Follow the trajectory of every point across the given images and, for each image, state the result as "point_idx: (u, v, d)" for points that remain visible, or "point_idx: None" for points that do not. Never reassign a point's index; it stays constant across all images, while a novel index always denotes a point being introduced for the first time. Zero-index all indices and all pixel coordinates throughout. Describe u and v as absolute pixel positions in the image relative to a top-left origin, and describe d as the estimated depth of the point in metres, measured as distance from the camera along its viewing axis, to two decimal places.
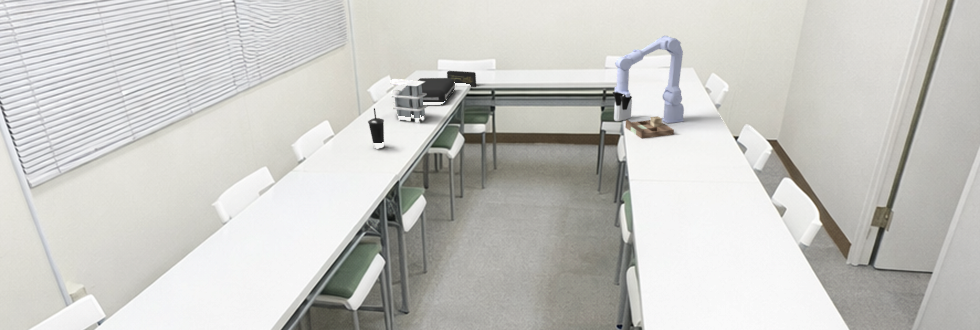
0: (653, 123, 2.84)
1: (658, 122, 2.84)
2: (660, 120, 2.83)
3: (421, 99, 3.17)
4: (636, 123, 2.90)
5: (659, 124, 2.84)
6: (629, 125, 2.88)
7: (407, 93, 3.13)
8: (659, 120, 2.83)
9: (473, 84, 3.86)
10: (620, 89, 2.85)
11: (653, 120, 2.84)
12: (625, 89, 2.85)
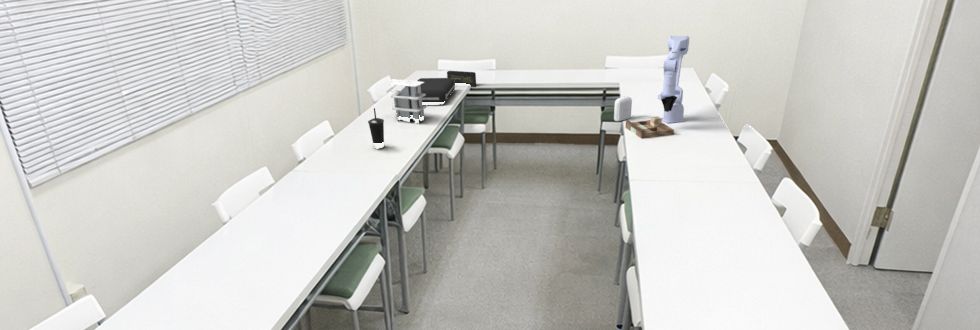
0: (653, 123, 2.84)
1: (658, 122, 2.84)
2: (660, 120, 2.83)
3: (420, 100, 3.16)
4: (636, 123, 2.90)
5: (659, 124, 2.84)
6: (629, 125, 2.88)
7: (406, 93, 3.12)
8: (659, 120, 2.83)
9: (473, 84, 3.86)
10: (663, 91, 2.81)
11: (653, 120, 2.84)
12: (666, 92, 2.79)
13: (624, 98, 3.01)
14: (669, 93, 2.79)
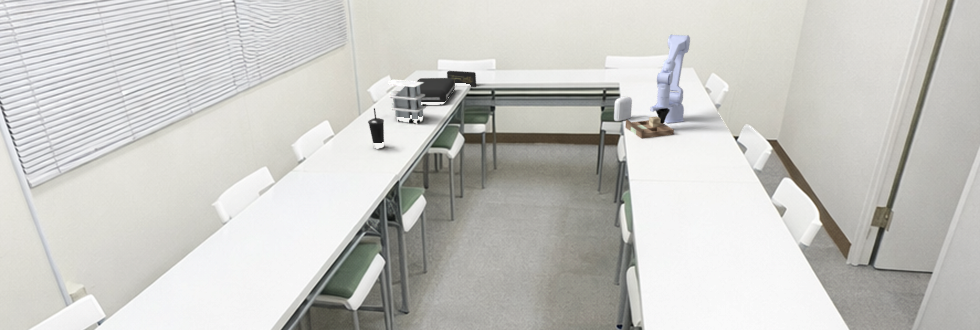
0: (652, 123, 2.84)
1: (657, 122, 2.84)
2: (659, 120, 2.83)
3: (419, 100, 3.15)
4: (636, 123, 2.90)
5: (658, 124, 2.84)
6: (629, 125, 2.88)
7: (405, 94, 3.11)
8: (658, 120, 2.83)
9: (473, 84, 3.86)
10: (657, 103, 2.83)
11: (652, 120, 2.84)
12: (659, 104, 2.81)
13: (624, 98, 3.01)
14: (662, 105, 2.80)
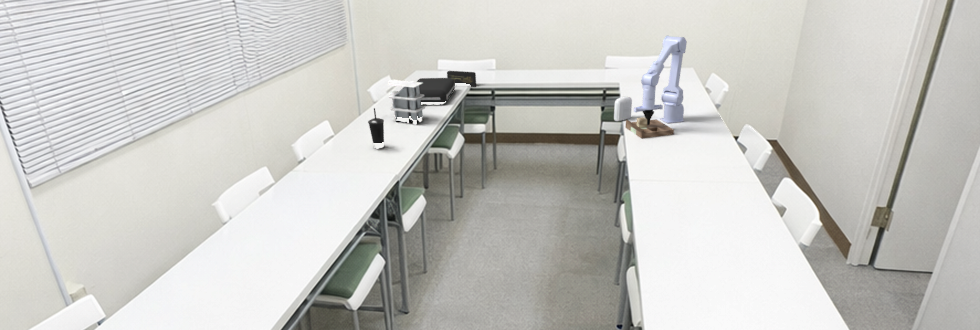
0: (638, 124, 2.84)
1: (643, 123, 2.83)
2: (645, 121, 2.83)
3: (419, 100, 3.14)
4: (636, 123, 2.90)
5: (644, 125, 2.83)
6: (629, 125, 2.88)
7: (404, 94, 3.11)
8: (644, 121, 2.83)
9: (473, 84, 3.86)
10: None
11: (638, 121, 2.83)
12: (643, 105, 2.80)
13: (624, 98, 3.01)
14: (646, 107, 2.79)
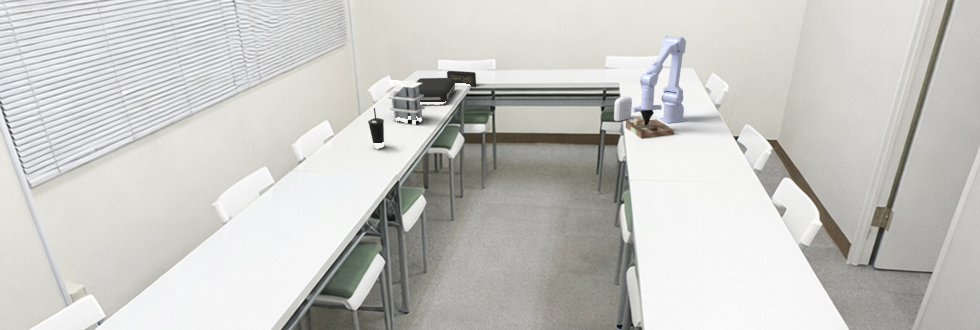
0: (635, 124, 2.84)
1: (640, 124, 2.83)
2: (643, 122, 2.82)
3: (418, 101, 3.14)
4: None
5: (642, 126, 2.83)
6: (629, 125, 2.88)
7: (404, 94, 3.10)
8: (641, 122, 2.82)
9: (473, 84, 3.86)
10: None
11: (635, 121, 2.83)
12: (642, 105, 2.80)
13: (624, 98, 3.01)
14: (645, 107, 2.79)
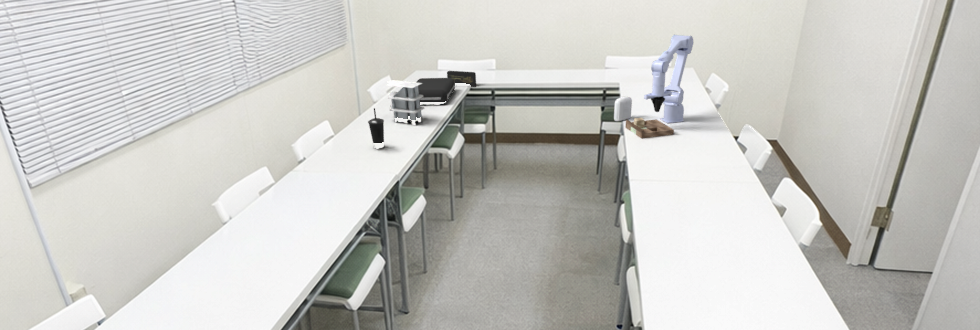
0: (635, 124, 2.84)
1: (640, 123, 2.83)
2: (643, 122, 2.82)
3: (418, 101, 3.13)
4: None
5: (642, 126, 2.83)
6: (629, 125, 2.88)
7: (403, 95, 3.10)
8: (641, 122, 2.82)
9: (473, 84, 3.86)
10: (652, 91, 2.82)
11: (635, 121, 2.83)
12: (653, 92, 2.80)
13: (624, 98, 3.01)
14: (656, 94, 2.79)
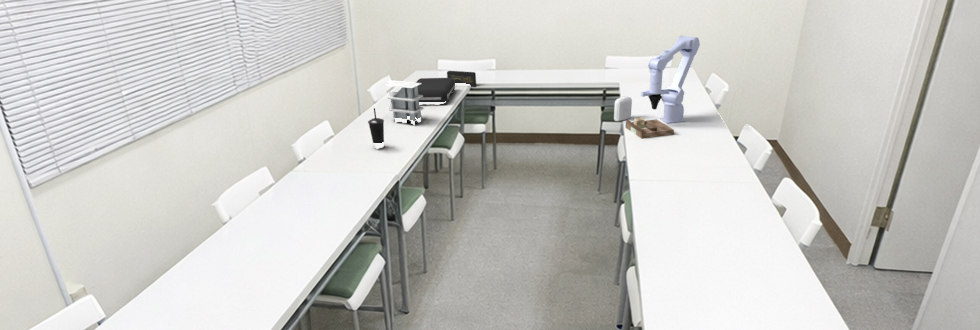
0: (635, 124, 2.84)
1: (640, 123, 2.83)
2: (643, 122, 2.82)
3: (417, 101, 3.13)
4: None
5: (642, 126, 2.83)
6: (629, 125, 2.88)
7: (403, 95, 3.10)
8: (641, 122, 2.82)
9: (473, 84, 3.86)
10: None
11: (635, 121, 2.83)
12: (650, 90, 2.84)
13: (624, 98, 3.01)
14: (653, 91, 2.83)
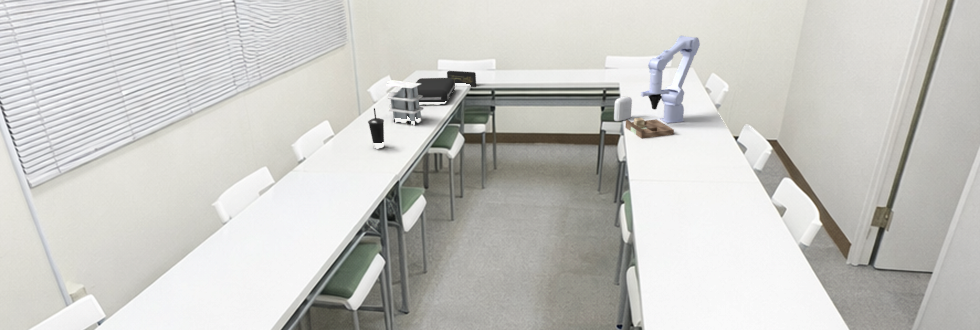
0: (635, 124, 2.84)
1: (640, 123, 2.83)
2: (643, 122, 2.82)
3: (417, 101, 3.13)
4: None
5: (642, 126, 2.83)
6: (629, 125, 2.88)
7: (403, 95, 3.09)
8: (641, 122, 2.82)
9: (473, 84, 3.86)
10: None
11: (635, 121, 2.83)
12: (650, 90, 2.84)
13: (624, 98, 3.01)
14: (653, 91, 2.83)
